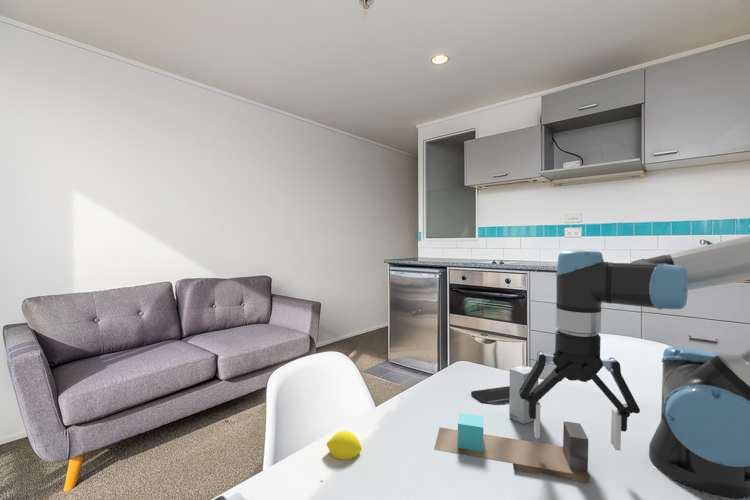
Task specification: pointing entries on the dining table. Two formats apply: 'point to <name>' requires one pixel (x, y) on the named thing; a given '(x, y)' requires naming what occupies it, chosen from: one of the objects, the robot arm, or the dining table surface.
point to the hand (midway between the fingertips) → (575, 440)
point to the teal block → (470, 432)
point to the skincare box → (516, 404)
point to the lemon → (344, 445)
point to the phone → (493, 395)
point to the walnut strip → (530, 452)
